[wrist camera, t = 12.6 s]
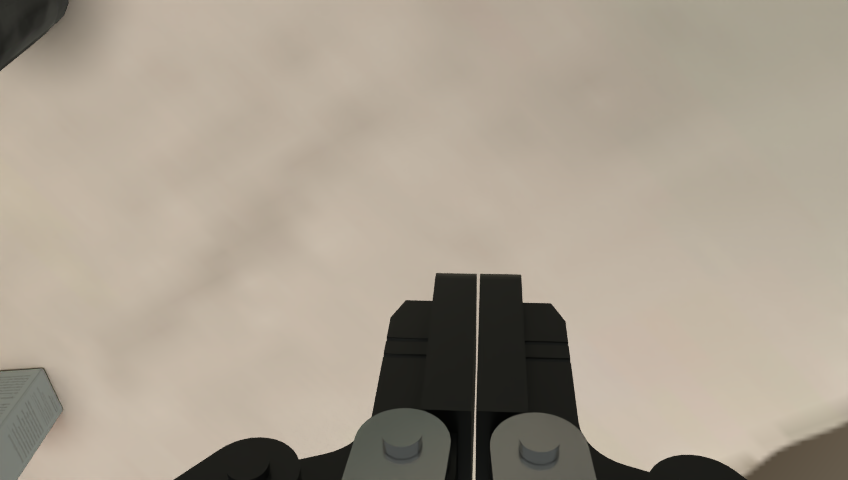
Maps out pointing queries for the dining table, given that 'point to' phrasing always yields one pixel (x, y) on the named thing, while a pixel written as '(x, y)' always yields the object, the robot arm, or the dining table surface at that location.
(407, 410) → the robot arm
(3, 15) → the beverage cup
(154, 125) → the dining table surface
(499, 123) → the dining table surface
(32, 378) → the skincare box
